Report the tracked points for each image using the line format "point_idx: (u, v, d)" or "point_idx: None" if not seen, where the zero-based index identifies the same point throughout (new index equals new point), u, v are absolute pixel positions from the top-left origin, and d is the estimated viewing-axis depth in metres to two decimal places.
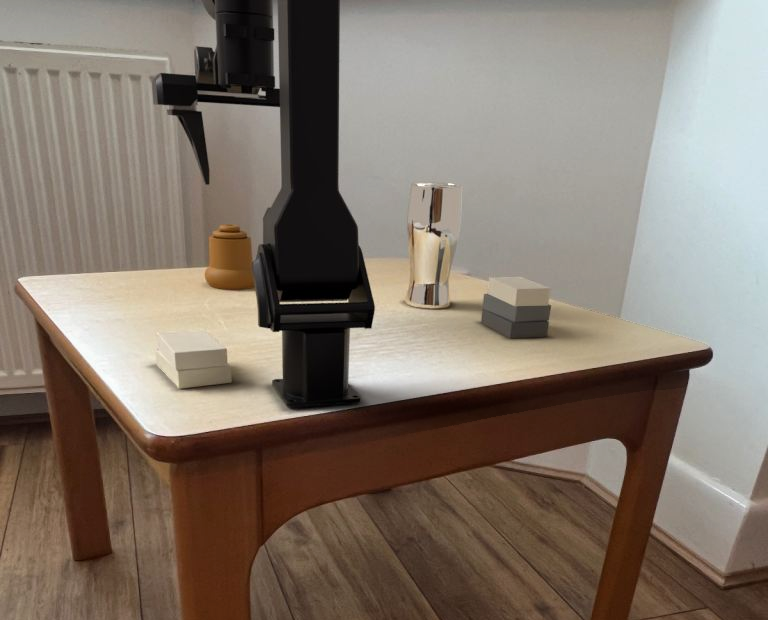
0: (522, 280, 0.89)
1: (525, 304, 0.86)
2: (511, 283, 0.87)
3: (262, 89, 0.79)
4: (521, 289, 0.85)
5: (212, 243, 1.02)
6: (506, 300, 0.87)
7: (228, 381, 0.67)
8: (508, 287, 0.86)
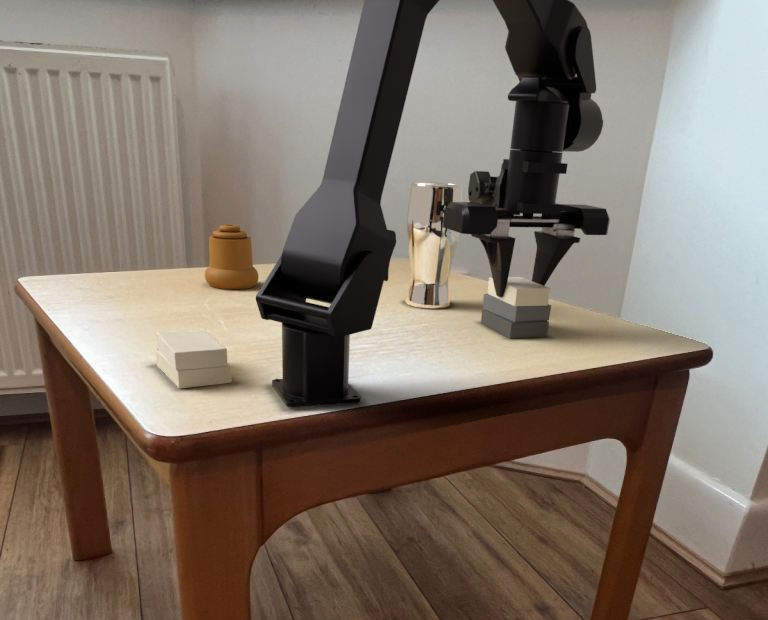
0: (522, 280, 0.89)
1: (525, 304, 0.86)
2: (511, 283, 0.87)
3: None
4: (521, 289, 0.85)
5: (212, 243, 1.02)
6: (506, 300, 0.87)
7: (228, 381, 0.67)
8: (508, 287, 0.86)
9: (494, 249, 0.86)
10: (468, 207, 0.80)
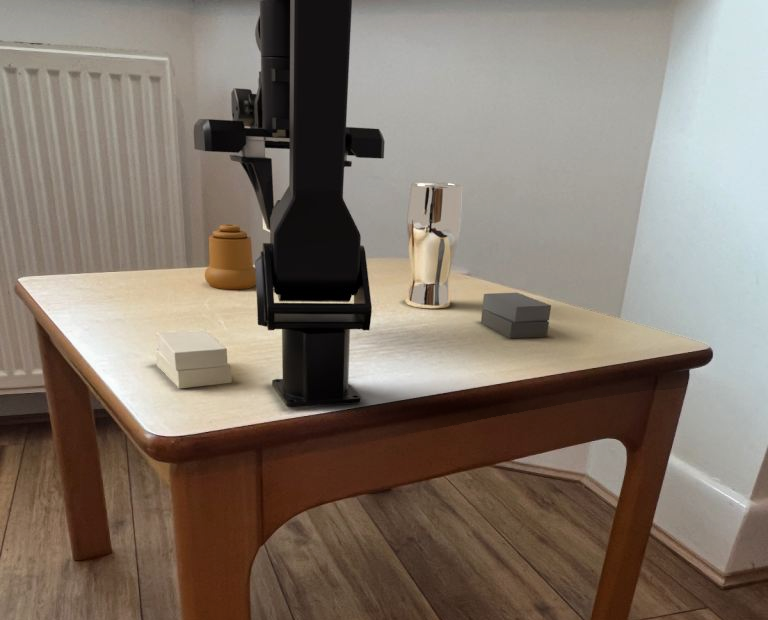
0: None
1: None
2: None
3: None
4: None
5: (212, 243, 1.02)
6: None
7: (228, 381, 0.67)
8: None
9: None
10: (209, 120, 0.70)
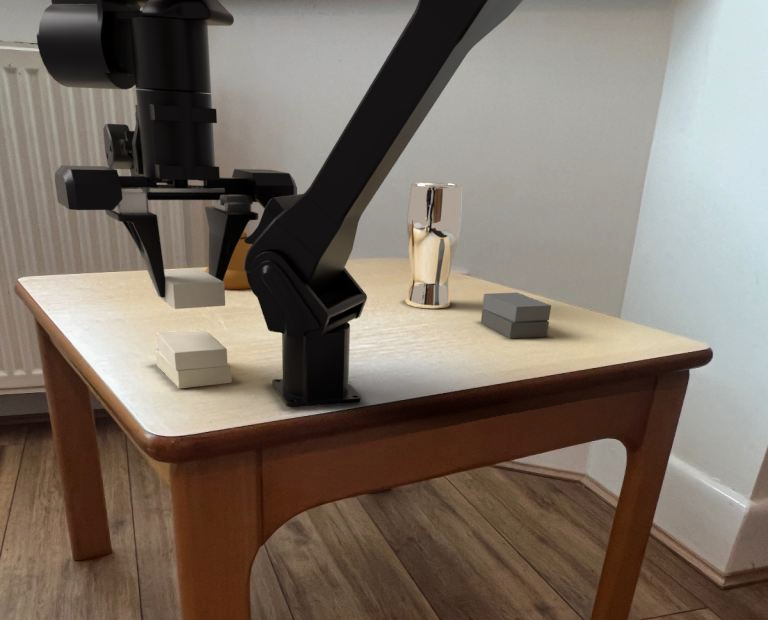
0: (195, 272, 0.66)
1: (190, 305, 0.63)
2: (173, 277, 0.64)
3: None
4: (180, 285, 0.62)
5: None
6: (167, 301, 0.64)
7: (228, 381, 0.67)
8: (166, 283, 0.63)
9: None
10: (72, 171, 0.55)
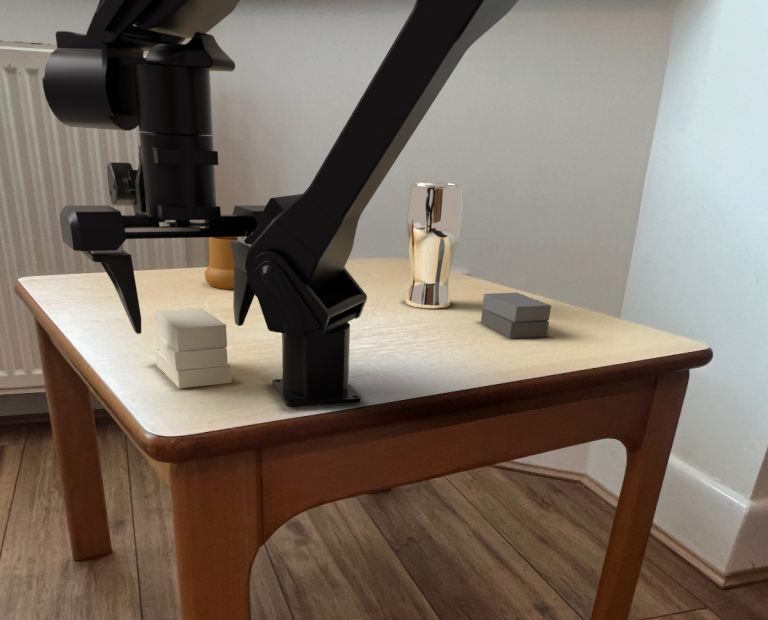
0: (197, 313, 0.68)
1: (193, 348, 0.64)
2: (176, 319, 0.66)
3: None
4: (183, 328, 0.63)
5: (212, 243, 1.02)
6: (170, 342, 0.65)
7: (228, 381, 0.67)
8: (170, 326, 0.64)
9: None
10: (77, 213, 0.57)
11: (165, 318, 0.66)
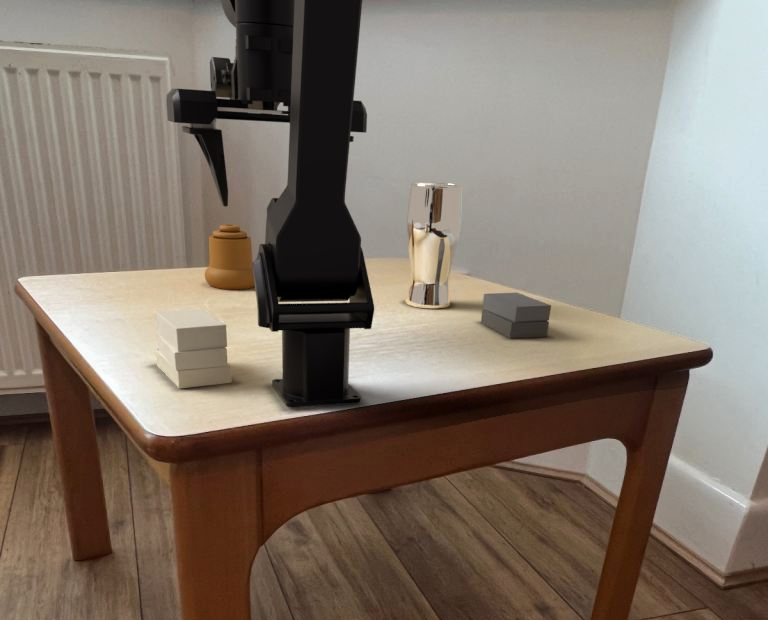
0: (197, 313, 0.68)
1: (193, 348, 0.64)
2: (176, 319, 0.66)
3: (284, 104, 0.74)
4: (183, 328, 0.63)
5: (212, 243, 1.02)
6: (170, 342, 0.65)
7: (228, 381, 0.67)
8: (170, 326, 0.64)
9: None
10: (179, 90, 0.67)
11: (165, 318, 0.66)
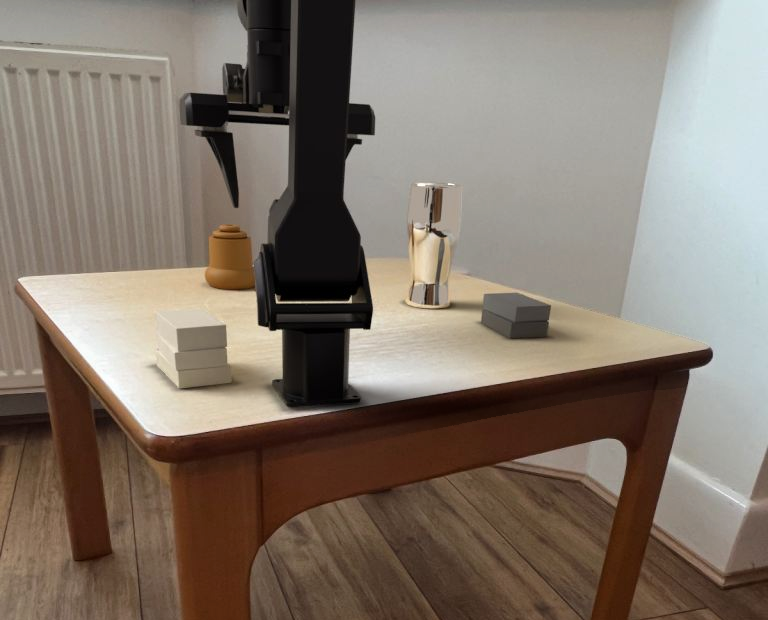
0: (197, 313, 0.68)
1: (193, 348, 0.64)
2: (176, 319, 0.66)
3: None
4: (183, 328, 0.63)
5: (212, 243, 1.02)
6: (170, 342, 0.65)
7: (228, 381, 0.67)
8: (170, 326, 0.64)
9: None
10: (191, 94, 0.69)
11: (165, 318, 0.66)
